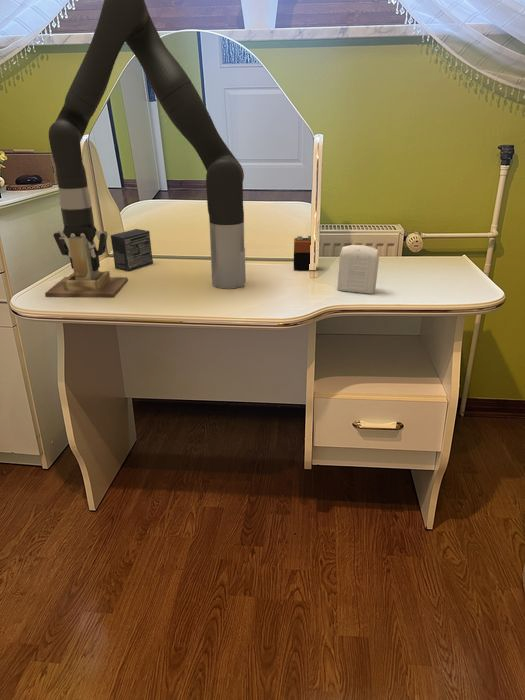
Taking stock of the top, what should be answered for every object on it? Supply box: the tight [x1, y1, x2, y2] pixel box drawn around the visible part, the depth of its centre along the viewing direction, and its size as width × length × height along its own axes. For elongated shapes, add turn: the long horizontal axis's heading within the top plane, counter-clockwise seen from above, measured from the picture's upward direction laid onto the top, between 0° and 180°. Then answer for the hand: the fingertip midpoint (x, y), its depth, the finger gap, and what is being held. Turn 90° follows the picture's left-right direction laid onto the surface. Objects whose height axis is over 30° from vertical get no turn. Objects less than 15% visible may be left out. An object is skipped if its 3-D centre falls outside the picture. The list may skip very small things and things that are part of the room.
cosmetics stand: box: [44, 270, 129, 298], centre depth 141 cm, size 18×14×4 cm
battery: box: [293, 235, 312, 272], centre depth 156 cm, size 4×7×10 cm, turn 88°
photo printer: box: [336, 244, 380, 295], centre depth 137 cm, size 10×4×12 cm, turn 73°
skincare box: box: [67, 236, 100, 280], centre depth 138 cm, size 6×4×12 cm
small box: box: [110, 228, 154, 272], centre depth 159 cm, size 11×6×10 cm, turn 144°
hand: (86, 269), depth 139 cm, fingers closed on skincare box, 4 cm apart
